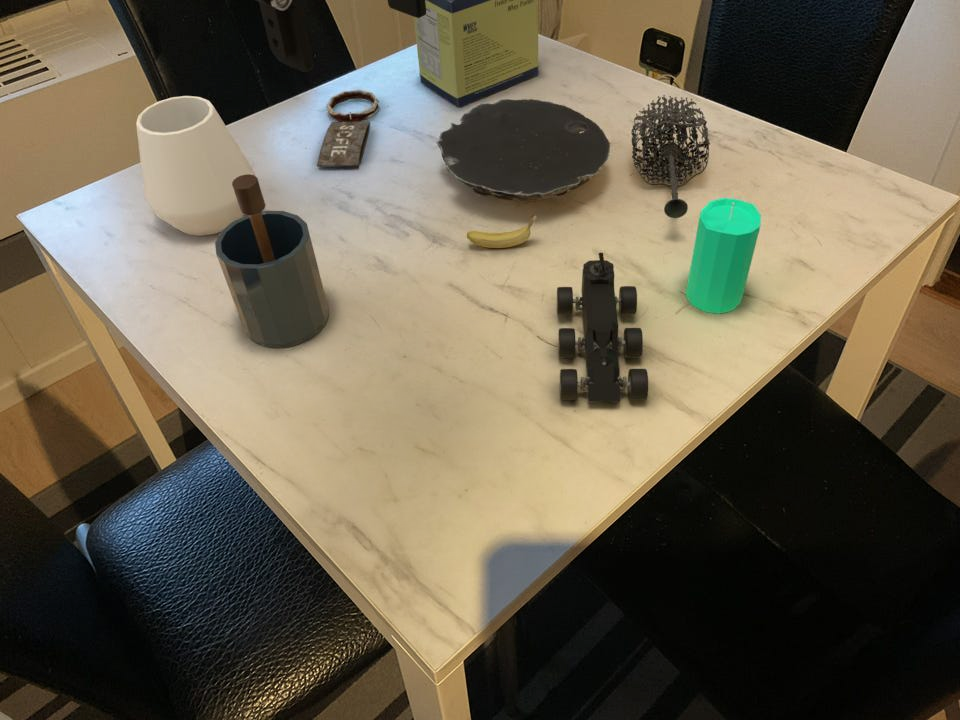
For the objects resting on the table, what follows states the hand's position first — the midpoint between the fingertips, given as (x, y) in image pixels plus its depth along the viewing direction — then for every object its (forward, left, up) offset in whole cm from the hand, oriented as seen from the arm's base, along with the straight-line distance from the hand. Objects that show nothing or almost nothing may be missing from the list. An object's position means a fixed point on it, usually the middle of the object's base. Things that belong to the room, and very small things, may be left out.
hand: (353, 37), depth 52 cm
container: (-11, +16, -36) cm, 41 cm away
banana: (+15, +20, -36) cm, 44 cm away
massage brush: (+38, +24, -36) cm, 58 cm away
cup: (-18, +39, -36) cm, 56 cm away
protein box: (+24, +60, -36) cm, 74 cm away
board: (+22, +33, -36) cm, 54 cm away
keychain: (+2, +52, -36) cm, 63 cm away
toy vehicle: (+19, 0, -36) cm, 41 cm away
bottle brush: (-11, +16, -36) cm, 40 cm away
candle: (+34, +4, -36) cm, 50 cm away
